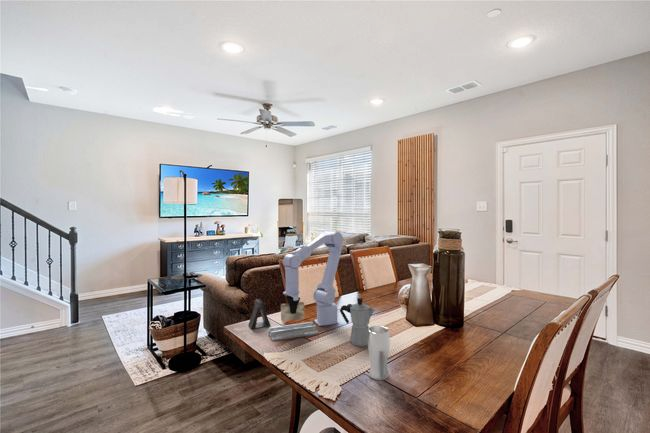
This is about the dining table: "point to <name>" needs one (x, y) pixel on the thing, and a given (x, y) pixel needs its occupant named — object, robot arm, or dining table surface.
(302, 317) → the door panel
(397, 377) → the dining table surface
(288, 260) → the robot arm
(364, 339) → the coffee maker
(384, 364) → the beer glass
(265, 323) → the phone stand
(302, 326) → the track
